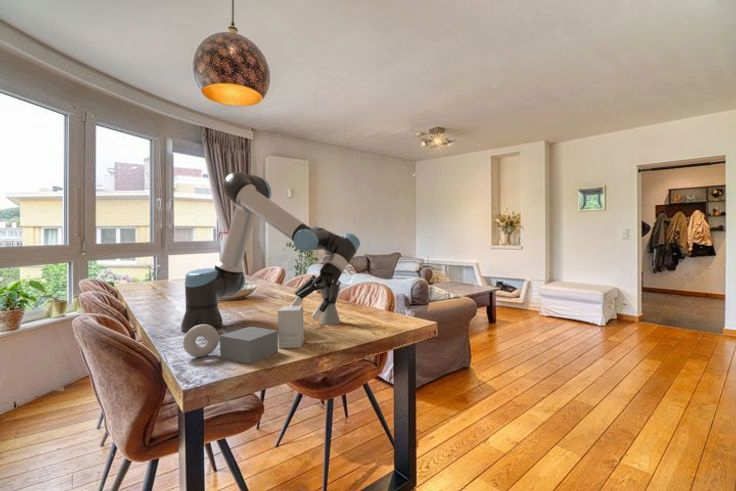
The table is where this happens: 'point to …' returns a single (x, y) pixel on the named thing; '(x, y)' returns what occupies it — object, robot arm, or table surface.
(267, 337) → the slate block
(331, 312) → the lava lamp
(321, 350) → the table surface
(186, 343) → the donut
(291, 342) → the supplement box
